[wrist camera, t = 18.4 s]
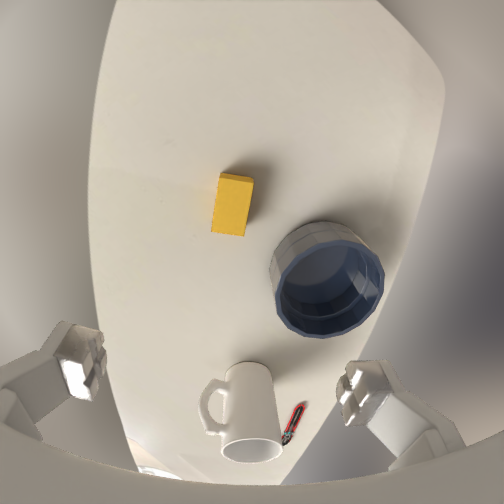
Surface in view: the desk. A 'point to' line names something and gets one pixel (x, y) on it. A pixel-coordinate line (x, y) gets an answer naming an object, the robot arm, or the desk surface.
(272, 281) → the bowl
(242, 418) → the mug
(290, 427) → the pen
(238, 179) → the sponge
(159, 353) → the desk surface
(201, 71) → the desk surface
